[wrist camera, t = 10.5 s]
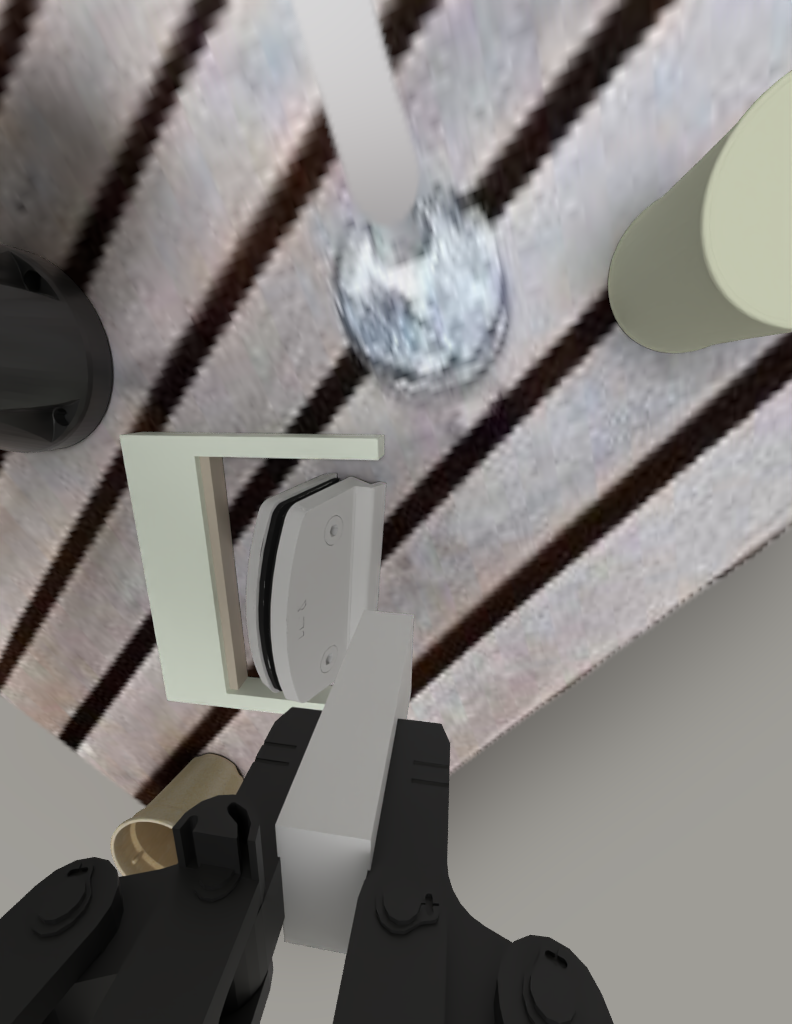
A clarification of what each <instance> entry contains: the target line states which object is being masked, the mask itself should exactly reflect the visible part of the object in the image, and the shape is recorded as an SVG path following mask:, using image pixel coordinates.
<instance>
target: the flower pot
mask: <svg viewBox="0 0 792 1024" xmlns="http://www.w3.org/2000/svg"><path fill="white" fill-rule="evenodd" d="M242 782H243V778H242V776H240V775H239V774H238V772H237V769H236V766H235V765H234V764H233V763H232V762H230V761H229V760H227V759H225V758H223V757H221V756H218V755H215V754H205V755H202V756H199V757H195V758H194V759H192V760H191V762H190V763H189V764H188V765H187V766H186V767H185V768H184V769H183V770H182V771H181V772H180V773H179V774H178V775H177V776H176V777H175V778H174V779H173V780H172V781H171V782H170V783H169V784H168V785H167V786H166V787H165V788H164V789H163V790H162V791H161V792H160V794H159V795H158V796H157V797H156V798H155V799H154V800H153V801H152V802H151V803H150V804H149V805H148V806H147V807H146V808H145V809H142V810H141V811H139V812H138V813H136V814H135V815H134V816H133V817H132V818H130V819H128V820H126V821H124V822H123V823H122V824H121V825H119V826H118V828H117V829H116V830H115V831H114V833H113V835H112V838H111V844H110V845H111V854H112V857H113V859H114V862H115V865H116V866H117V868H118V870H119V871H120V872H121V874H122V875H123V876H127V875H132V874H137V873H142V872H148V871H153V870H158V869H162V868H166V867H169V866H172V865H175V864H177V863H178V859H177V853H176V847H175V842H174V836H173V830H172V827H173V826H174V825H175V824H176V823H177V822H178V820H179V819H180V818H181V817H182V816H183V815H184V813H185V812H187V811H188V810H190V809H191V808H192V807H194V806H195V805H197V804H198V803H200V802H201V801H203V800H206V799H209V798H212V797H215V796H217V795H232V794H235V795H236V793H237V791H238V790H239V788H240V786H241V784H242Z"/></svg>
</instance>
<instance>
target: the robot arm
mask: <svg viewBox="0 0 792 1024" xmlns="http://www.w3.org/2000/svg"><path fill="white" fill-rule="evenodd" d="M111 385H112V364H111V356H110V351H109V346H108V342H107V338H106V335H105V332H104V330H103V327H102V325H101V322H100V320H99V318H98V316H97V314H96V312H95V310H94V308H93V307H92V305H91V303H90V302H89V300H88V299H87V297H86V296H85V294H84V293H83V292H82V291H81V289H80V288H79V287H78V286H77V285H76V284H75V282H74V281H73V280H72V279H71V278H70V277H69V276H68V275H66V274H65V273H64V272H63V271H62V270H61V269H59V268H58V267H57V266H55V265H54V264H52V263H51V262H49V261H47V260H46V259H44V258H42V257H40V256H38V255H35V254H33V253H30V252H27V251H23V250H20V249H17V248H14V247H10V246H7V245H4V244H0V450H6V451H12V452H24V453H29V452H41V451H48V450H54V449H61V448H65V447H68V446H71V445H74V444H76V443H78V442H79V441H81V440H83V439H84V438H85V437H87V436H88V435H89V434H90V433H91V432H92V431H93V430H94V429H95V427H96V426H97V425H98V423H99V422H100V420H101V418H102V417H103V415H104V412H105V410H106V407H107V405H108V401H109V398H110V392H111ZM413 628H414V615H413V614H402V613H391V612H381V611H370V610H364V611H363V614H362V616H361V618H360V621H359V623H358V626H357V628H356V631H355V633H354V635H353V638H352V640H351V643H350V645H349V647H348V650H347V652H346V655H345V657H344V660H343V662H342V664H341V667H340V669H339V672H338V674H337V677H336V679H335V681H334V684H333V686H332V689H331V691H330V693H329V696H328V698H327V701H326V703H325V706H324V708H323V710H314V709H306V708H298V707H291V708H290V709H289V710H288V711H287V712H286V713H284V714H283V715H282V716H281V717H280V718H279V719H278V720H277V721H275V723H274V725H273V726H272V728H271V730H270V732H269V734H268V736H267V738H266V739H265V741H264V745H262V747H261V749H260V751H259V752H258V754H257V756H256V759H255V762H253V764H252V765H251V767H250V769H249V771H248V773H247V775H246V777H245V778H244V780H243V782H242V784H241V786H240V788H239V790H238V791H237V793H236V795H235V794H232V795H217V796H215V797H212V798H209V799H206V800H203V801H201V802H200V803H198V804H197V805H195V806H194V807H192V808H191V809H190V810H188V811H187V812H185V813H184V815H183V816H182V817H181V818H180V819H179V820H178V822H177V823H176V824H175V825H174V826H173V827H172V830H173V836H174V842H175V847H176V853H177V859H178V863H177V864H175V865H172V866H169V867H166V868H162V869H158V870H153V871H148V872H142V873H137V874H132V875H127V876H122V877H118V873H117V870H116V869H115V867H114V866H113V865H112V864H111V863H110V861H109V860H105V859H101V858H96V857H92V858H87V859H81V860H76V861H74V862H72V863H70V864H68V865H66V866H64V867H62V868H60V869H58V870H56V871H54V872H53V873H52V874H50V875H49V876H48V877H46V878H45V879H44V880H43V881H41V882H40V883H39V884H37V885H36V886H35V887H34V888H33V889H32V890H31V891H30V892H28V893H27V894H26V895H25V897H23V898H22V899H21V900H20V901H19V902H18V903H17V904H16V905H15V906H13V908H11V909H10V910H9V911H8V912H7V913H6V914H5V915H4V916H3V917H2V918H1V919H0V1024H260V1020H261V1017H262V1014H263V1010H264V1008H265V1004H266V1001H267V998H268V994H269V991H270V986H271V981H272V974H273V962H272V956H273V953H274V950H275V946H276V943H277V940H278V937H279V934H280V931H281V928H282V925H283V930H284V941H285V942H288V943H293V944H298V945H303V946H308V947H313V948H318V949H324V950H329V951H334V952H339V953H344V954H347V955H346V960H345V965H344V970H343V975H342V980H341V985H340V990H339V995H338V1000H337V1005H336V1010H335V1015H334V1021H333V1024H613V1021H612V1018H611V1016H610V1014H609V1011H608V1009H607V1006H606V1004H605V1001H604V999H603V997H602V994H601V992H600V990H599V988H598V986H597V985H596V983H595V981H594V980H593V978H592V976H591V974H590V972H589V970H588V968H587V967H586V966H585V965H584V964H583V963H582V962H581V961H580V960H579V959H578V958H577V957H576V955H575V954H574V953H573V952H572V951H571V950H570V949H569V948H567V947H565V946H564V945H562V944H560V943H558V942H557V941H555V940H553V939H551V938H550V937H542V936H535V935H529V936H526V937H524V938H521V939H519V940H516V941H514V942H513V943H512V942H510V941H509V940H507V939H505V938H504V937H502V936H500V935H499V934H497V933H495V932H494V931H492V930H490V929H488V928H487V927H485V926H484V925H482V924H481V923H480V922H478V921H477V920H476V919H474V918H473V917H472V916H471V915H470V914H469V913H468V912H467V911H466V909H465V908H464V907H463V906H462V905H461V904H460V902H459V900H458V898H457V897H456V895H455V893H454V891H453V889H452V886H451V883H450V879H449V877H448V867H447V844H448V842H447V841H448V805H449V804H448V803H449V765H450V742H449V740H448V738H447V735H446V733H445V731H444V729H443V727H442V724H438V723H430V722H422V721H414V720H407V714H408V707H409V701H410V695H411V677H412V653H413Z"/></svg>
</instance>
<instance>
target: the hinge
mask: <svg viewBox="0 0 792 1024" xmlns="http://www.w3.org/2000/svg"><path fill="white" fill-rule="evenodd" d="M385 496H386V483H384V482H381V481H380V482H377V483H373V484H369V483H366V482H364V481H362V480H359V479H357V478H354V477H352V476H350V477H348V478H346V479H344V480H342V481H340V482H339V478H337V473H332V474H323V475H321V476H319V477H316V478H314V479H312V480H310V481H307V482H305V483H303V484H300V485H298V486H296V487H294V488H291V489H289V490H287V491H284V492H282V493H280V494H278V495H275V496H273V497H271V498H268V499H267V500H265V501H264V502H263V504H262V505H261V507H260V509H259V513H258V516H257V520H256V524H255V528H254V533H253V538H252V543H251V548H250V554H249V561H248V570H247V579H246V622H247V631H248V639H249V644H250V649H251V653H252V657H253V661H254V664H255V666H256V669H257V672H258V674H259V676H260V678H261V680H262V682H263V683H264V684H265V685H266V686H267V687H268V688H269V689H270V690H271V691H272V692H274V693H278V692H280V691H283V694H284V696H285V698H286V699H288V700H292V701H296V702H300V703H305V702H307V701H309V700H310V699H311V698H313V697H314V696H315V695H317V694H318V693H319V692H321V691H322V690H323V689H325V688H326V687H328V686H329V685H330V684H332V683H333V682H334V681H335V679H336V677H337V674H338V672H339V669H340V667H341V664H342V662H343V660H344V657H345V655H346V652H347V650H348V647H349V645H350V643H351V640H352V638H353V635H354V633H355V631H356V628H357V626H358V623H359V621H360V618H361V616H362V614H363V611H364V610H370V611H377V609H378V595H379V581H380V566H381V552H382V538H383V524H384V510H385Z"/></svg>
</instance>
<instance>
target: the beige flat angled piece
mask: <svg viewBox="0 0 792 1024" xmlns="http://www.w3.org/2000/svg"><path fill="white" fill-rule="evenodd" d="M119 436H120V442H121V447H122V453H123V459H124V464H125V470H126V475H127V481H128V486H129V492H130V497H131V503H132V508H133V514H134V519H135V525H136V530H137V536H138V541H139V547H140V553H141V558H142V564H143V569H144V575H145V580H146V586H147V591H148V597H149V602H150V608H151V613H152V619H153V624H154V630H155V635H156V641H157V647H158V652H159V658H160V663H161V669H162V674H163V680H164V685H165V691H166V696H167V701H176V702H184V703H193V704H202V705H210V706H219V707H228V708H236V709H245V710H253V711H262V712H271V713H279V714H284V713H286V712H287V711H288V710H289V709H290V708H291V707H298V708H306V709H314V710H323V708H324V706H325V703H326V701H327V698H328V696H329V693H330V691H331V689H332V686H330V685H329V686H328V687H326V688H325V689H323V690H322V691H321V692H319V693H318V694H317V695H315V696H314V697H313V698H311V699H310V700H309V701H307V702H305V703H300V702H296V701H292V700H288V699H286V698H285V696H284V694H283V691H280V692H278V693H274V692H272V691H271V690H270V689H269V688H268V687H267V686H266V685H265V684H264V683H263V682H262V680H261V678H253V677H248V673H247V665H246V656H245V648H244V639H243V631H242V622H241V613H240V605H239V596H238V588H237V579H236V571H235V562H234V554H233V545H232V537H231V528H230V519H229V511H228V502H227V494H226V485H225V477H224V468H223V460H222V457H249V458H296V459H343V460H379V459H380V458H381V457H383V456H384V435H351V434H268V433H185V432H138V433H131V434H124V435H119Z"/></svg>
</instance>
